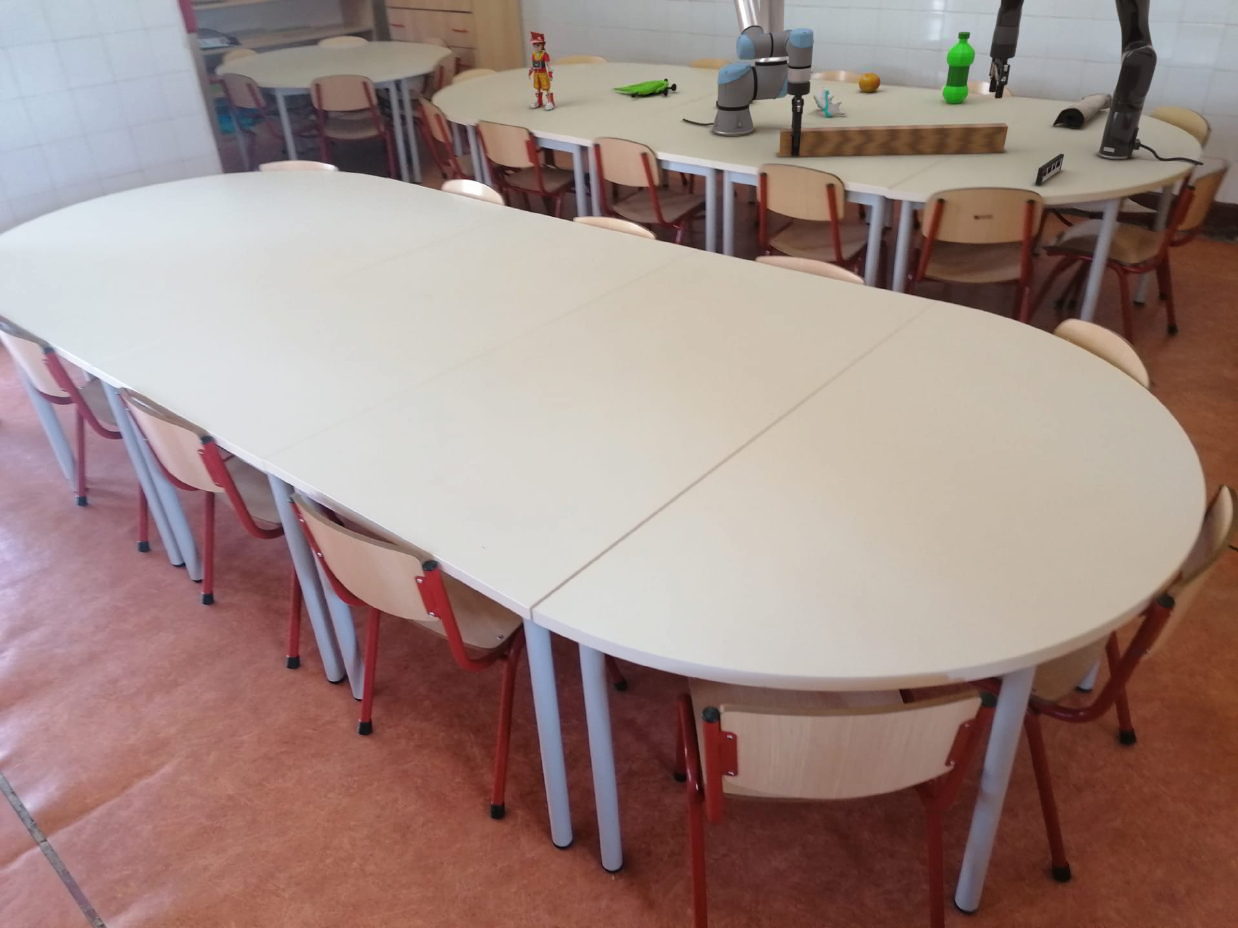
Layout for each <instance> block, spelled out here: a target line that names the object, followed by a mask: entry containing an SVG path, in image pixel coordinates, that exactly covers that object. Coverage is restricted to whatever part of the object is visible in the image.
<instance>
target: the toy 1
mask: <svg viewBox="0 0 1238 928" xmlns="http://www.w3.org/2000/svg"><path fill="white" fill-rule="evenodd" d="M529 33H530V35H531V36H528V37H527V38H528V39H529V40H528V41H527V43H529V44H530V43H531V44H532V48H533V50H534V51H533V52H532V55H531V58H530V59H531V63H530V66H528V74H527V75H528V76H527V77H528V79H529V80H531V75H532V74H533V84H532V85H533V86H532V87H533V88H534V89H535V90H536V92H534V95H535V97H536V100H535V101H533V102H531V105H530V108H531V109H535V108H538V107H542V106H544V101H543V100H544V99H543V95H544V92H546V94H545V97H546V99H547V103H546V104H545V106H544V110H546V111H549V110H553V109H554V107H555V106H556V105H555V99H554V92H551V91H550V90H551V86H552V84H551V82H552V81H553V80H554V77H553V73H554V71H555V70H554V69H552V68H551V63H550V61H551V59H550V58H551V57H550V54H549V53H548V52H547V50H546V48H545V46H546V44H547V41H545V35H544V33H543V32H542V33H539V32H535V31H529Z"/></svg>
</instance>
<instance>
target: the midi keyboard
mask: <svg viewBox="0 0 1238 928" xmlns="http://www.w3.org/2000/svg"><path fill="white" fill-rule="evenodd" d="M1064 157H1065V153H1059V154H1058V155H1056V156H1055V157H1052V159H1051V160H1049V161H1047V162H1045V164H1042V165H1041V166H1039V167H1038V169H1037V175H1036V179H1035V186H1040V185H1042V183H1044V182H1045V181H1047V180H1048V179H1049V178H1051V177H1052V176H1054V175H1055V174H1056V173H1058V172H1060V171H1061V170H1062V165H1063V161H1064Z"/></svg>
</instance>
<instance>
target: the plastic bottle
mask: <svg viewBox="0 0 1238 928" xmlns="http://www.w3.org/2000/svg"><path fill="white" fill-rule="evenodd" d="M970 36H971V32H970V31H959V32H958V36H957V39H958V42H957V43H956V44H954V45H953V46H952V47H951V48H950V49H949V50H948V52H947V54H946V63H947V64H948V69H947V70H948V71H947V76H946V77H947V78H946V84H945V85H944V87H943V90H942V97H943V99H944V100H945V101H946V102H947V103H948V104H960V103H961V102H963V101H964V100H966V98H967V96H968V95H969V85H968V79H969V73H970V67H971V65H972V64H973V63H974V61H975V57H976V51H975V49H974V47H972V45H971V44H970V43H969V42H968V41H969V39H970V38H971V37H970Z"/></svg>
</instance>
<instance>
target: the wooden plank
mask: <svg viewBox="0 0 1238 928" xmlns="http://www.w3.org/2000/svg"><path fill="white" fill-rule="evenodd" d="M1008 129H1009V125H1008V124H1007V123H1006V122H993V123H992V122H990V123H988V122H987V123H952V124H951V123H950V124H945V123H944V124H908V125H907V124H905V125H864V126H861V125H860V126H820V127H819V126H817V127H801V136H800V150H799V156H791V147H792V136H791V135H792V134H793V128H792V127H780V128H779V139H778V140H779V141H778V157H779V158H790V157H792V158H793V157H794V158H795V157H837V156H839V157H842V156H849V157H850V156H893V155H898V156H899V155H939V154H940V155H942V154H943V155H944V154H945V155H946V154H947V155H950V154H994V153H995V154H997V153H1001V154H1002V153H1004V151H1005V145H1006V141H1007V140H1006V139H1007V135H1008Z"/></svg>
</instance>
